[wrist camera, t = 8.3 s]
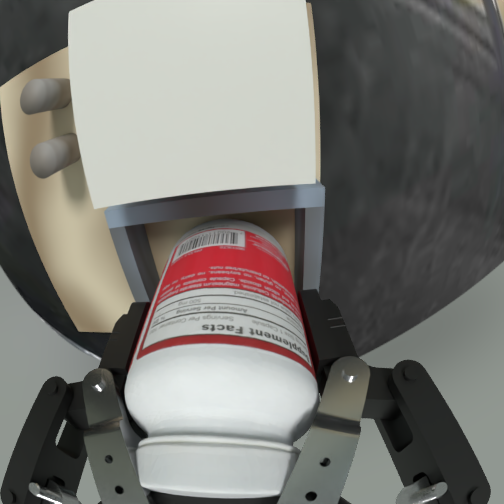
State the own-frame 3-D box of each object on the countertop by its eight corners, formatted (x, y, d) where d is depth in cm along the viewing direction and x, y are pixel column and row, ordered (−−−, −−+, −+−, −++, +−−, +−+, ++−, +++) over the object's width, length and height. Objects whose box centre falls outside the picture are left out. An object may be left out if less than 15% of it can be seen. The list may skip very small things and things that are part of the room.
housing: (278, 9, 8) (300, -33, 4) (288, 154, 12) (315, 183, 8) (119, 33, 8) (69, 12, 4) (136, 172, 12) (94, 209, 8)
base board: (304, 10, 9) (327, -16, 6) (308, 308, 18) (320, 350, 15) (11, 86, 9) (-29, 92, 5) (84, 320, 18) (67, 355, 15)
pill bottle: (237, 326, 16) (237, 510, 7) (150, 275, 14) (83, 476, 5) (312, 261, 14) (379, 481, 5) (217, 187, 12) (160, 473, 2)
